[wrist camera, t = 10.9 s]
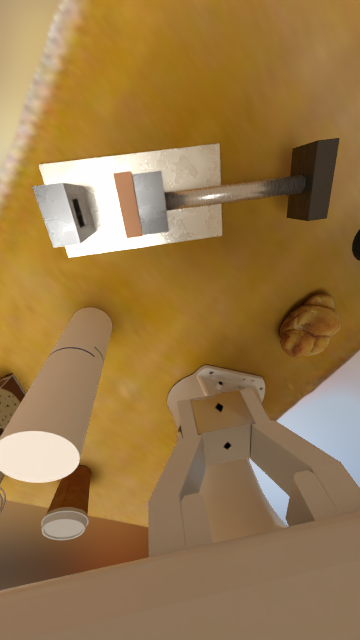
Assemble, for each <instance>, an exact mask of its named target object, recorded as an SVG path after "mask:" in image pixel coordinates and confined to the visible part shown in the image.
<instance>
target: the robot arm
mask: <svg viewBox="0 0 360 640" xmlns="http://www.w3.org/2000/svg"><path fill="white" fill-rule="evenodd" d="M211 371H212V372H211ZM264 395H265V383H264V380H263V378H262V377H260V376H256V375H252V374H247V373H242V372H238V371H233V370H228V369H224V368H219V367H214V366H210V365H204V366H202V367H200V368H199V369H198V370H197V371H196V372H195V373H194V374H192V375H190V376H188V377H186V378H184V379H182V380H181V381H179V382H178V383H177V384H176V385H175V386H174V387H173V388H172V389H171V391H170V393H169V395H168V399H167V404H168V408H169V410H170V412H171V414H172V416H173V418H174V421H175V424H176V428H177V432H178V433H177V444H176V446H175V448H174V450H173V452H172V454H171V456H170V458H169V460H168V462H167V464H166V466H165V468H164V471H163V473H162V475H161V477H160V479H159V481H158V483H157V485H156V487H155V489H154V491H153V493H152V495H151V498H150V500H149V558H145V559H140V560H135V561H131V562H127V563H122V564H118V565H113V566H108V567H104V568H99V569H95V570H90V571H86V572H81V573H77V574H72V575H68V576H63V577H59V578H54V579H50V580H45V581H41V582H36V583H32V584H27V585H23V586H18V587H14V588H9V589H4V590H0V640H360V488H359V487H358V485H357V484H356V483H355V481H354V480H353V478H352V477H351V476H350V474H349V473H348V472H347V470H346V469H345V468H344V466H343V465H342V464H341V462H339V461H338V460H336V459H334V458H333V457H331V456H330V455H328V454H327V453H325V452H323V451H322V450H320V449H319V448H317V447H316V446H314V445H312V444H311V443H309V442H308V441H306V440H305V439H303V438H301V437H300V436H298V435H297V434H295V433H294V432H292V431H290V430H289V429H287V428H286V427H284V426H283V425H281V424H279V423H278V422H276V421H275V420H273V421H270V419H269V417H268V416H267V414H266V412H265V410H264V409H263V407H262V402H263V399H264ZM249 458H250V459H251V460H252V461H253V462H255V464H257V466H259V467H260V468H261V469H262V470H263V471H264V472H265V473H266V474H267V475H268V476H269V477H270V478H271V479H272V480H273V481H274V482H275V483H276V484H277V485H278V486H279V487H280V488H281V489H282V490H283V491H285V492H286V493H287V494H288V495H289V496H290V499H289V504H288V508H287V514H286V520H287V523H288V525H289V527H287V525H285V523H284V522H283V521H282V520H281V519H280V518H279V516H278V515H277V514H276V512H275V511H274V510H273V508H272V507H271V505H270V504H269V502H268V501H267V499H266V497H265V495H264V494H263V492H262V490H261V488H260V486H259V483H258V481H257V478H256V476H255V474H254V471H253V469H252V466H251V464H250V462H249Z"/></svg>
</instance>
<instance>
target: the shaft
mask: <svg viewBox="0 0 360 640" xmlns="http://www.w3.org/2000/svg"><path fill="white" fill-rule="evenodd" d="M338 144H339V138H335V139H327V140H319V141H315V142H312V143H309V144H306V145H303V146H300V147H296V148H293V152H292V164H291V175H290V176H289V177H282V178H274V179H266V180H258V181H250V182H243V183H235V184H227V185H219V186H211V187H204V188H196V189H188V190H180V191H172V192H165V193H164V196H165V204H166V211H171V210H179V209H186V208H194V207H201V206H209V205H216V204H224V203H231V202H239V201H247V200H254V199H262V198H269V197H277V196H284V195H289V198H288V209H287V218H292V219H299V220H305V221H311V220H318V219H325V218H327V213H328V207H329V201H330V194H331V188H332V182H333V176H334V169H335V163H336V157H337V150H338Z"/></svg>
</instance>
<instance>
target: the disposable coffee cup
mask: <svg viewBox="0 0 360 640" xmlns="http://www.w3.org/2000/svg"><path fill="white" fill-rule="evenodd" d="M89 485H90V470H89V469H88V468H87V467H85V466H82V465H78V466H77V468H76V469H75V470H74V471H73V472H72V473H71V474H69V475H68V476H66V477H64V478H62V479H61V481H60V484H59V486H58V488H57V491H56V493H55V495H54V498H53V500H52V502H51V505H50V507H49V510H48V512H47V514H46V515H45V517H44V518H43V520H42V522H41V525H42V533H43V535H44V536H46V537H48V538H50V539H54V540H68V539H72V538H76V537H78V536H80V535H81V534H82V533H83V532H84V530H85V528H86V526H87V525H88V521H89V519H88V515H87V513H88V499H89Z"/></svg>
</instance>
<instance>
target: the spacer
mask: <svg viewBox="0 0 360 640" xmlns="http://www.w3.org/2000/svg"><path fill="white" fill-rule="evenodd" d="M113 176H114V181H115V186H116V190H117V195H118V200H119V205H120V209H121V214H122V219H123V224H124V229H125V233H126V238H134V237H142V236H143V232H142V227H141V221H140V215H139V210H138V204H137V198H136V193H135V187H134V181H133V176H132V172H131V171H128V172H119V173H113Z"/></svg>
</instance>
